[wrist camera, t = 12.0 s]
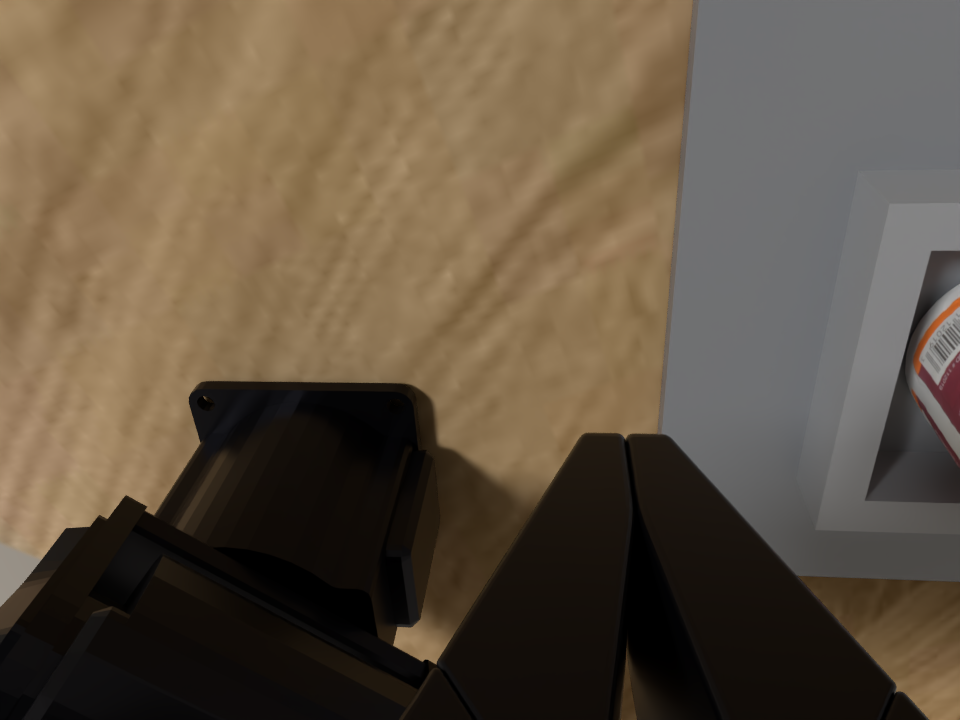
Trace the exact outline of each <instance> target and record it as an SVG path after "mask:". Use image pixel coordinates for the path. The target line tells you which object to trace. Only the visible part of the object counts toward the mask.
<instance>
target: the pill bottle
mask: <svg viewBox="0 0 960 720" xmlns="http://www.w3.org/2000/svg"><path fill="white" fill-rule="evenodd" d="M905 375H906V380H907V384H908V386H909V389H910V392H911V394H912V396H913V398H914V400H915V401H916V403H917V404H918V406H919V408H920V409H921V411H922V413H923V415H924V417H925V419H926V420H927V421H928V423H929V424H930V425H931V426H932V428H933V429H934V431H935V432H936V434H937V436H938V438H939V439H940V440H941V442H942V443H943V445H944V446H945V448H946V449H947V450H948V452H949V453H950V455H951V456H952V458H953V460H954V461H955V463H956V464H957V466H958V467H959V468H960V284H959V285H957V286H956V287H954V288H953V289H951V290H950V291H948V292H947V293H946V294H945V295H943V296H942V297H941V298H940V299H939V300H937V301H936V303H935V304H934V305H933V306H932V307H931V308H930V309H929V310H928V312H927V313H926V314H925V315H924V316H923V318H922V319H921V320H920V322H919V323H918V325H917V327H916V329H915V331H914V333H913V335H912V337H911V340H910V343H909V347H908V350H907V354H906V365H905Z"/></svg>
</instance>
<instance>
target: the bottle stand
mask: <svg viewBox="0 0 960 720" xmlns="http://www.w3.org/2000/svg"><path fill="white" fill-rule="evenodd" d="M959 284H960V0H693V10H692V22H691V34H690V46H689V58H688V70H687V82H686V94H685V107H684V119H683V131H682V143H681V155H680V167H679V179H678V191H677V204H676V216H675V228H674V240H673V252H672V264H671V276H670V289H669V301H668V313H667V325H666V337H665V349H664V361H663V373H662V386H661V398H660V410H659V422H658V434H665V435H668V436H669V437H671V438H672V439H673V440H674V441H675V442H676V443H677V445H678V446H679V447H680V448H681V449H682V450H683V451H684V452H685V453H686V454H687V456H688V457H689V458H690V459H691V460H692V461H693V462H694V463H695V464H696V465H697V466H698V468H699V469H700V470H701V471H702V472H703V473H704V474H705V475H706V476H707V477H708V479H709V480H710V481H711V482H712V483H713V484H714V485H715V486H716V487H717V488H718V489H719V491H720V492H721V493H722V494H723V495H724V496H725V497H726V498H727V499H728V500H729V502H730V503H731V504H732V505H733V506H734V507H735V508H736V509H737V510H738V511H739V513H740V514H741V515H742V516H743V517H744V518H745V519H746V520H747V521H748V522H749V523H750V525H751V526H752V527H753V528H754V529H755V530H756V531H757V532H758V533H759V534H760V536H761V537H762V538H763V539H764V540H765V541H766V542H767V543H768V544H769V545H770V546H771V548H772V549H773V550H774V551H775V552H776V553H777V554H778V555H779V556H780V557H781V559H782V560H783V561H784V562H785V563H786V564H787V565H788V566H789V567H790V568H791V570H792V571H793V572H794V573H795V574H796V575H797V576H816V577H843V578H870V579H897V580H924V581H952V582H960V468H959V467H958V466H957V464H956V463H955V461H954V460H953V458H952V456H951V455H950V453H949V452H948V450H947V449H946V448H945V446H944V445H943V443H942V442H941V440H940V439H939V438H938V436H937V434H936V432H935V431H934V429H933V428H932V426H931V425H930V424H929V423H928V421H927V420H926V419H925V417H924V415H923V413H922V411H921V409H920V408H919V406H918V404H917V403H916V401H915V400H914V398H913V396H912V394H911V392H910V389H909V386H908V384H907V380H906V375H905V365H906V354H907V350H908V347H909V343H910V340H911V337H912V335H913V333H914V331H915V329H916V327H917V325H918V323H919V322H920V320H921V319H922V318H923V316H924V315H925V314H926V313H927V312H928V310H929V309H930V308H931V307H932V306H933V305H934V304H935V303H936V301H937V300H939V299H940V298H941V297H942V296H943V295H945V294H946V293H947V292H948V291H950V290H951V289H953V288H954V287H956V286H957V285H959Z"/></svg>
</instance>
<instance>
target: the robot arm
mask: <svg viewBox="0 0 960 720" xmlns="http://www.w3.org/2000/svg"><path fill="white" fill-rule="evenodd" d="M203 396H205V397H209V398H210V399H212V400H213V402H214V403H210V402H208V401H206V400H205V399H204V397H203ZM392 399H398V400H400V401H402V402H403V403H404V405H402V406H397V405H394V404H393V403H392V402H391V401H390V400H392ZM189 405H190V408H191V412H192V415H193V418H194V422H195V425H196V429H197V432H198V436H199V439H200V442H201V443H200V445H199V447H198V448H197V450H196V451H195V453H194V454H193V456H192V457H191V459H190V460H189V462H188V463H187V465H186V467H185V468H184V470H183V471H182V473H181V474H180V476H179V477H178V479H177V480H176V482H175V484H174V485H173V487H172V488H171V490H170V491H169V493H168V494H167V496H166V497H165V499H164V500H163V502H162V504H161V505H160V507H159V508H158V510H157V511H156V513H155V514H154V515H152V514H150V513H148V512H146V511H145V509H146V508H147V506H145V505H143V504H141V503H139V502H138V501H136V500H134V499H132V498H130V497H128V496H127V495H126V496H125V497H124V498H123V499H122V501H121V502H120V503H119V505H118V506H117V507H116V509H115V510H114V511H113V513H112V514H111V515H110V517H109V518H108V519H106V518H104V517H103V516H101V515H99V516H98V517H97V518H96V520H95V521H94V522H93V524H92V525H91V526H90V527H80V528H66V529H65V530H64V532H63V533H62V534H61V535H60V537H59V538H58V539H57V541H56V542H55V543H54V545H53V546H52V547H51V548H50V550H49V551H48V552H47V554H46V555H45V556H44V558H43V559H42V560H41V561H40V563H39V564H38V565H37V567H36V568H35V569H34V570H33V572H32V573H31V574H30V575H29V577H28V578H27V579H26V580H25V581H24V583H23V584H22V585H21V586H20V587H19V588H18V589H17V590H16V591H15V593H14V594H13V595H12V596H11V597H10V598H9V599H8V600H7V601H6V602H5V603H4V604H3V605H2V606H1V607H0V720H621V710H622V699H623V688H624V675H625V660H626V646H627V656H628V664H629V672H630V679H631V686H632V692H633V698H634V704H635V710H636V716H637V720H929V719H928V718H927V717H926V716H925V715H924V714H923V713H922V711H921V710H920V709H919V708H918V707H917V706H916V705H915V704H914V703H913V702H912V700H911V699H910V698H909V697H908V696H907V695H906V694H905V693H903V692H896V684H895V682H894V681H893V680H892V679H891V678H890V677H889V676H888V675H887V674H886V673H885V671H884V670H883V669H882V668H881V667H880V666H879V665H878V664H877V663H876V662H875V661H874V659H873V658H872V657H871V656H870V655H869V654H868V653H867V652H866V651H865V650H864V648H863V647H862V646H861V645H860V644H859V643H858V642H857V641H856V640H855V639H854V637H853V636H852V635H851V634H850V633H849V632H848V631H847V630H846V629H845V628H844V627H843V625H842V624H841V623H840V622H839V621H838V620H837V619H836V618H835V617H834V616H833V614H832V613H831V612H830V611H829V610H828V609H827V608H826V607H825V606H824V605H823V604H822V602H821V601H820V600H819V599H818V598H817V597H816V596H815V595H814V594H813V593H812V591H811V590H810V589H809V588H808V587H807V586H806V585H805V584H804V583H803V582H802V580H801V579H800V578H799V577H798V576H797V575H796V574H795V573H794V572H793V571H792V570H791V568H790V567H789V566H788V565H787V564H786V563H785V562H784V561H783V560H782V559H781V557H780V556H779V555H778V554H777V553H776V552H775V551H774V550H773V549H772V548H771V546H770V545H769V544H768V543H767V542H766V541H765V540H764V539H763V538H762V537H761V536H760V534H759V533H758V532H757V531H756V530H755V529H754V528H753V527H752V526H751V525H750V523H749V522H748V521H747V520H746V519H745V518H744V517H743V516H742V515H741V514H740V513H739V511H738V510H737V509H736V508H735V507H734V506H733V505H732V504H731V503H730V502H729V500H728V499H727V498H726V497H725V496H724V495H723V494H722V493H721V492H720V491H719V489H718V488H717V487H716V486H715V485H714V484H713V483H712V482H711V481H710V480H709V479H708V477H707V476H706V475H705V474H704V473H703V472H702V471H701V470H700V469H699V468H698V466H697V465H696V464H695V463H694V462H693V461H692V460H691V459H690V458H689V457H688V456H687V454H686V453H685V452H684V451H683V450H682V449H681V448H680V447H679V446H678V445H677V443H676V442H675V441H674V440H673V439H672V438H671V437H669V436H668V435H665V434H630V435H628V436H627V438H626V440H625V438H624V437H623V436H622V435H621V434H618V433H585V434H583V435H582V436H581V437H580V438H579V440H578V441H577V443H576V444H575V446H574V447H573V449H572V451H571V452H570V454H569V455H568V457H567V458H566V460H565V462H564V463H563V465H562V466H561V468H560V469H559V471H558V473H557V474H556V476H555V477H554V479H553V480H552V482H551V484H550V485H549V487H548V488H547V490H546V491H545V493H544V495H543V496H542V498H541V499H540V501H539V502H538V504H537V505H536V507H535V509H534V510H533V512H532V513H531V515H530V516H529V518H528V520H527V521H526V523H525V524H524V526H523V527H522V529H521V531H520V532H519V534H518V535H517V537H516V538H515V540H514V542H513V543H512V545H511V546H510V548H509V549H508V551H507V553H506V554H505V556H504V557H503V559H502V560H501V562H500V564H499V565H498V567H497V568H496V570H495V571H494V573H493V574H492V576H491V578H490V579H489V581H488V582H487V584H486V585H485V587H484V589H483V590H482V592H481V593H480V595H479V596H478V598H477V600H476V601H475V603H474V604H473V606H472V607H471V609H470V611H469V612H468V614H467V615H466V617H465V618H464V620H463V622H462V623H461V625H460V626H459V628H458V629H457V631H456V632H455V634H454V636H453V637H452V639H451V640H450V642H449V643H448V645H447V647H446V648H445V650H444V651H443V653H442V654H441V656H440V658H439V659H438V661H437V665H436V664H434V663H432V662H431V661H429V660H424V661H423V662H422V661H420V660H418V659H417V658H415V657H413V656H411V655H409V654H407V653H405V652H404V651H402V650H400V649H398V648H396V647H394V646H393V644H394V639H395V635H396V631H397V627H413V626H414V625H415V624H416V623H417V622H418V621H419V620H420V617H421V612H422V607H423V602H424V597H425V592H426V588H427V583H428V578H429V573H430V568H431V563H432V558H433V553H434V548H435V543H436V538H437V533H438V528H439V523H440V512H439V502H438V492H437V482H436V472H435V462H434V457H433V456H432V455H431V454H430V453H429V452H428V451H427V450H422V448H421V439H420V430H419V421H418V412H417V403H416V397H415V394H414V392H413V391H412V390H411V389H410V388H408V387H407V386H405V385H402V384H390V383H307V382H224V381H206V382H201V383H200V384H198V385H197V386H196V387H195V389H194V390H193V391H192V393H191V394H190V396H189ZM895 692H896V693H895Z"/></svg>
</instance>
